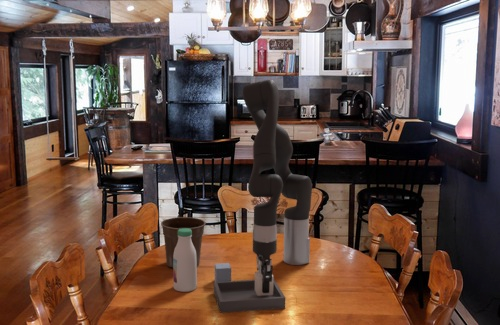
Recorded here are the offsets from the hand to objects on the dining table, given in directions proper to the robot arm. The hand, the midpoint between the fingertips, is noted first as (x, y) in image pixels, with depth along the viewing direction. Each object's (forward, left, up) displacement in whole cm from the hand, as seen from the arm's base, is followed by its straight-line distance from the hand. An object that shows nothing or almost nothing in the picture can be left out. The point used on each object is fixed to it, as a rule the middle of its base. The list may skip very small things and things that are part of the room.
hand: (264, 289), depth 182 cm
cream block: (0, 0, -1) cm, 1 cm away
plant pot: (+23, -36, -4) cm, 43 cm away
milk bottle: (+24, -13, -4) cm, 28 cm away
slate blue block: (+11, -16, -3) cm, 20 cm away
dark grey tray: (+5, 0, -3) cm, 6 cm away
